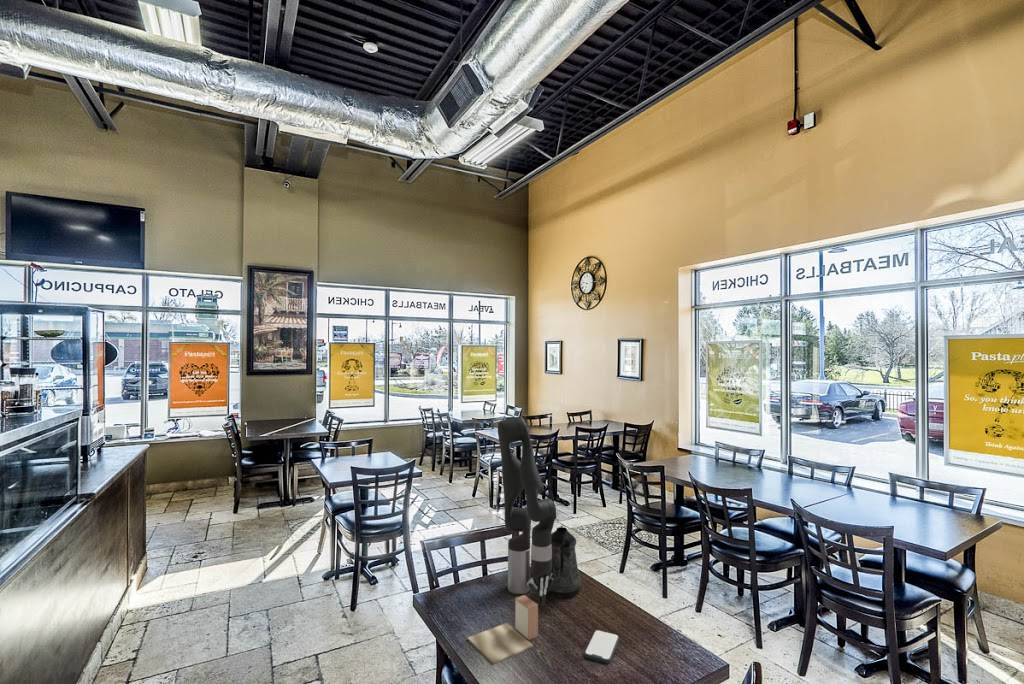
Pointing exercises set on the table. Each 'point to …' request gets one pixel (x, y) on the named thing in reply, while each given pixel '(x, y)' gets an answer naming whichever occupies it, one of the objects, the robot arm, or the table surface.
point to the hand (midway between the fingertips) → (540, 604)
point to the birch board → (500, 643)
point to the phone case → (601, 646)
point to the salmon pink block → (526, 617)
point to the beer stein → (564, 565)
